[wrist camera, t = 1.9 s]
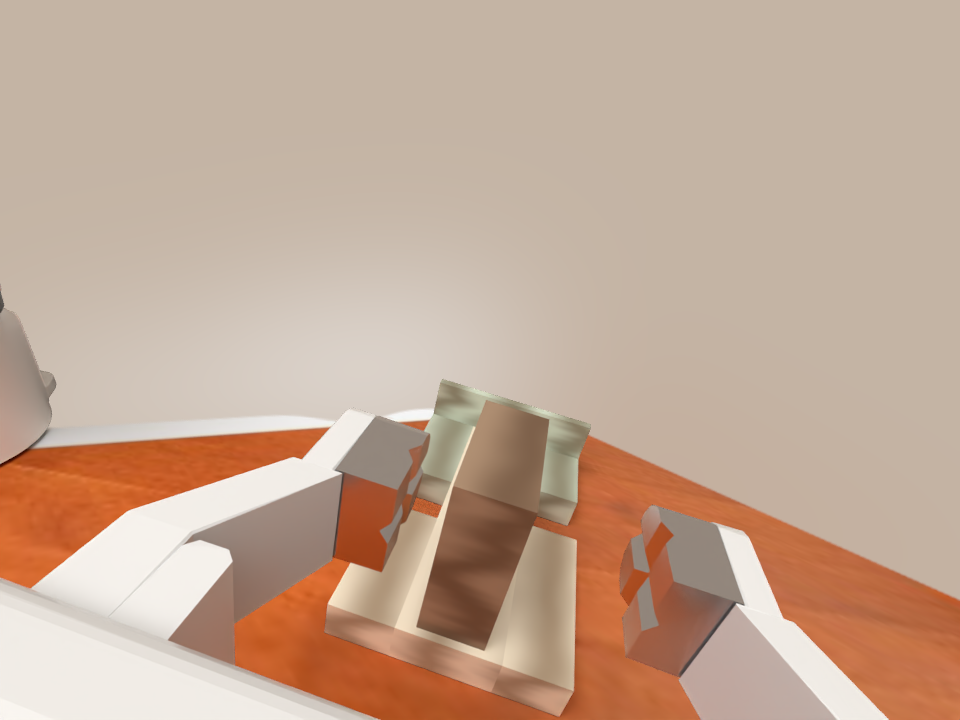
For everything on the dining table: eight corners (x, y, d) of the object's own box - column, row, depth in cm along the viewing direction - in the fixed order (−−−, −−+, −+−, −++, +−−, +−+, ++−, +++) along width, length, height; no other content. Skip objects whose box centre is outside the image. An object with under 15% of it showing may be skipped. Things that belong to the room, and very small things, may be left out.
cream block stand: (324, 632, 31) (332, 561, 27) (430, 431, 52) (442, 379, 49) (558, 716, 29) (596, 653, 26) (569, 475, 51) (590, 424, 47)
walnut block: (416, 627, 29) (453, 485, 24) (452, 523, 37) (486, 399, 32) (484, 651, 29) (537, 513, 23) (505, 541, 37) (549, 419, 31)
